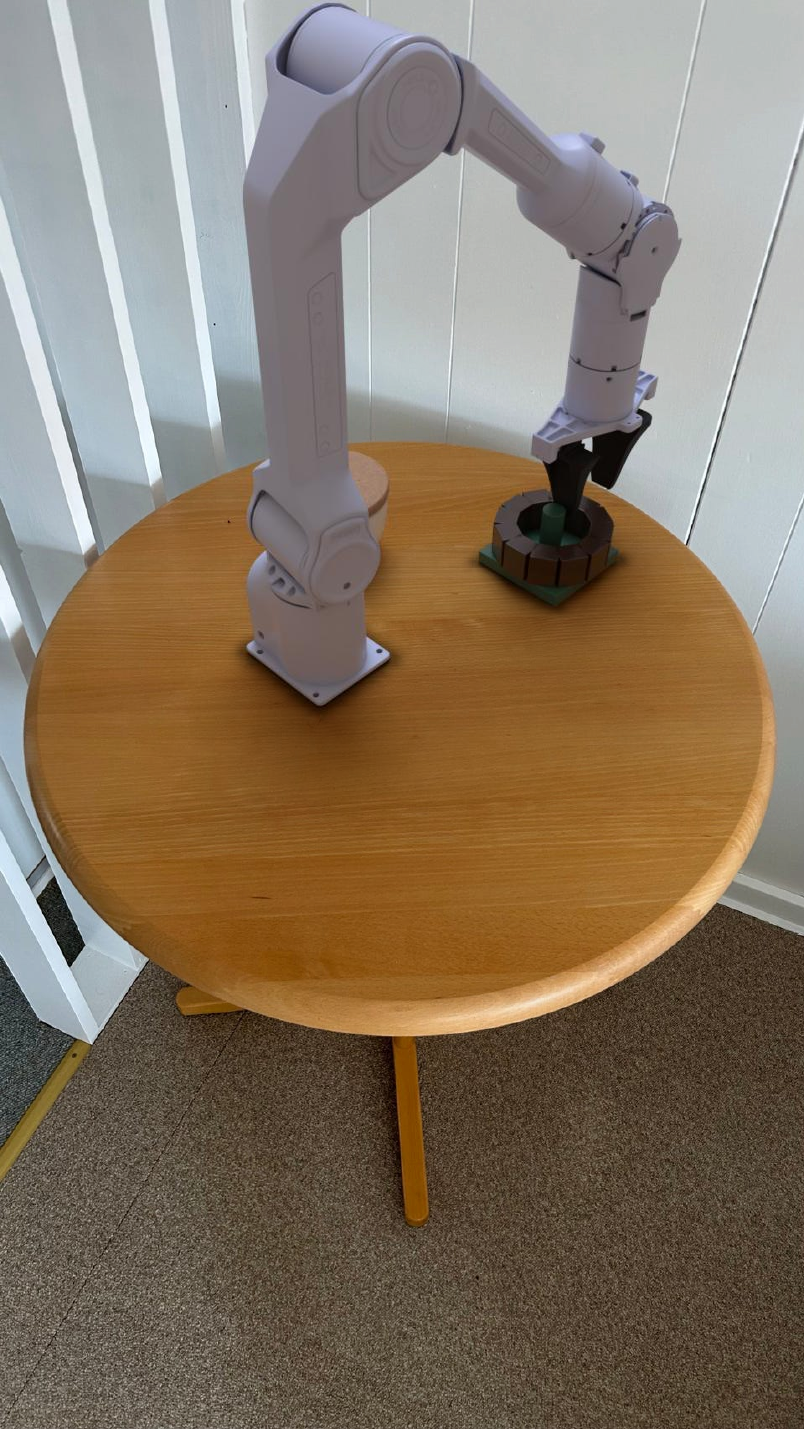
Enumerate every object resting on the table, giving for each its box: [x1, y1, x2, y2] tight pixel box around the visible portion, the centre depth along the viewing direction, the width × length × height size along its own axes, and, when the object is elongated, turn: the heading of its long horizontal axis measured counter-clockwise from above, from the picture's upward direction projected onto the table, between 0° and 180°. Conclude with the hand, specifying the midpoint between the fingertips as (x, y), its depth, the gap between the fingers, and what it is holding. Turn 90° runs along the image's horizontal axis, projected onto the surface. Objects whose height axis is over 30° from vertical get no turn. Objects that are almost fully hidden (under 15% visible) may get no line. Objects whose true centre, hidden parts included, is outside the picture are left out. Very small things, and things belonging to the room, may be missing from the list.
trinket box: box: [348, 449, 390, 544], centre depth 86 cm, size 11×11×9 cm
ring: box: [491, 488, 615, 588], centre depth 87 cm, size 10×10×3 cm
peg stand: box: [478, 503, 620, 608], centre depth 87 cm, size 9×9×6 cm
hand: (583, 497), depth 87 cm, fingers open, 5 cm apart
